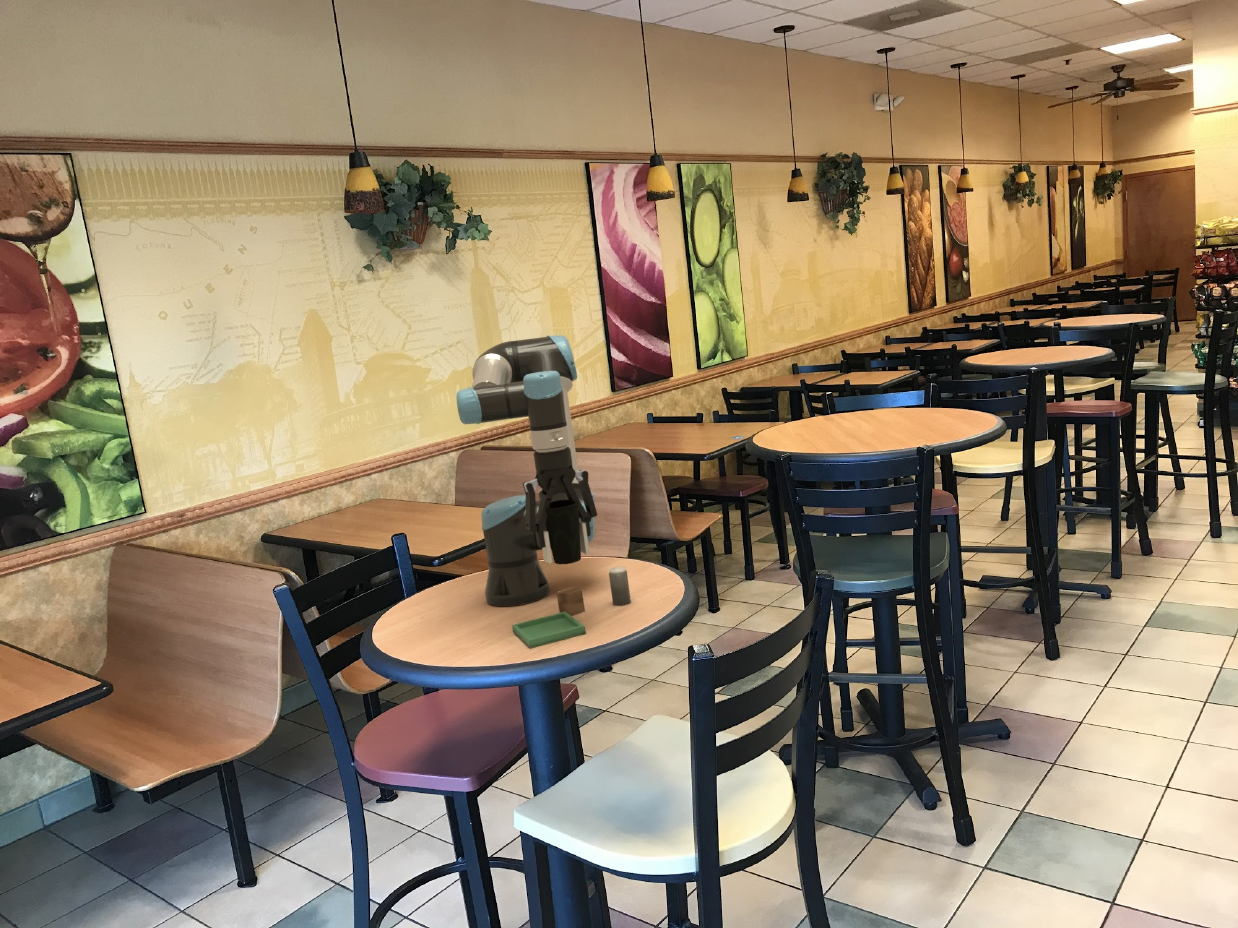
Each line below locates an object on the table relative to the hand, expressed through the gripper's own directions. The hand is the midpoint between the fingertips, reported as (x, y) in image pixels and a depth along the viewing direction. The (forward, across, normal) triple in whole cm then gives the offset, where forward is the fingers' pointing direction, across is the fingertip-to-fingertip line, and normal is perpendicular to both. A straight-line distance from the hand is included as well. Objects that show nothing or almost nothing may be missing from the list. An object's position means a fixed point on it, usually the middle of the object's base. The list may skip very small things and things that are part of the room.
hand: (566, 556), depth 193 cm
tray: (+15, -6, 0) cm, 16 cm away
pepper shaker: (+15, +14, +6) cm, 21 cm away
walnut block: (+15, +3, +9) cm, 18 cm away
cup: (+1, 0, 0) cm, 1 cm away
